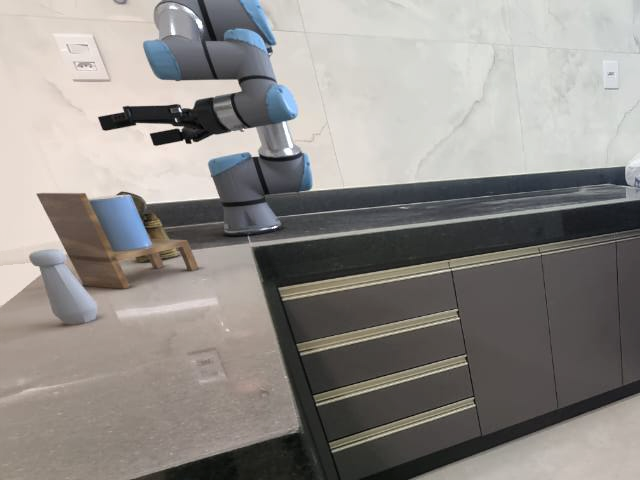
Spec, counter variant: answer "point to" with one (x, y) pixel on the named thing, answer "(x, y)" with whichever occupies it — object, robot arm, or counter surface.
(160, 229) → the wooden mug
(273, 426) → the counter surface
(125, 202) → the blue cup
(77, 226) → the wooden chair
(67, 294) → the salt shaker
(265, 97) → the robot arm
